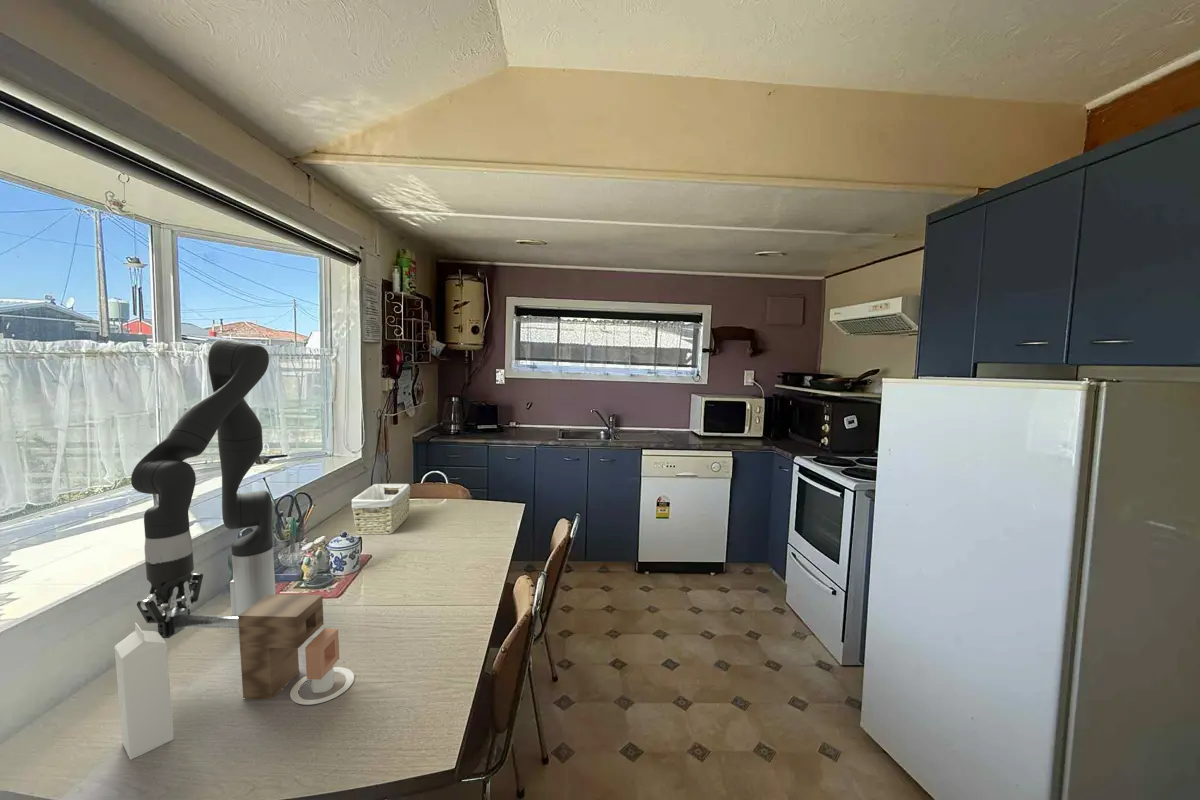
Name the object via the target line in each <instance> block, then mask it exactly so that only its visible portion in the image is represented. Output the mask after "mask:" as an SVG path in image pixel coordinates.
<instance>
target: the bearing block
mask: <svg viewBox="0 0 1200 800" xmlns="http://www.w3.org/2000/svg"><path fill="white" fill-rule="evenodd" d="M323 603H324V602H323V595H322V594H281V593H279V594H276V593H275V594H268V595H267V596H265V597H264V598H262V599H261V600H260V601H258V602H257V603H255V604H254V605H253V606H251V607H250V608H248V609H247V610H246V611H244V612H243V613H241V614H240V615H239V616H238V622H239V629H238V635H239V636H238V638H239V652H240V653H239V654H240V666H241V667H240V668H241V670H240V671H241V684H242V685H241V686H242V699H243V698H245V699H244V700H265V699H266V701H268V700H271V701H273V699H275V697H276V696H277V695H279V693H280V692H281V691H282V690H283V689H284V688H285V687H286V686H287V685H288V684H289V683H290V682H291V681H292V680H291V679H294V678H295V676H297V675H298V674H299V673H300V663H299V662H300V657H299V648H300V647H301V646H302V645H303V644H304V643H306V642H307V641H308V640H309V639H310V638H311V636H313V635H314V634H315V633H317V631H318V630H319V629H320V628H321V627H322V626H324V625H325V624H324V622H325V621H324V604H323ZM290 680H291V681H290ZM289 681H290V682H289ZM288 682H289V683H288ZM287 683H288V684H287ZM286 684H287V685H286ZM285 685H286V686H285ZM282 688H283V689H282ZM281 689H282V690H281Z"/></svg>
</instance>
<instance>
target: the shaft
mask: <svg viewBox="0 0 1200 800" xmlns="http://www.w3.org/2000/svg"><path fill="white" fill-rule="evenodd" d="M162 615H165V612H163V614H162ZM171 620H172V627H173V636H174V635H177V634H179V632H182V631H183V630H184V629H190V628H191V629H227V630H229V629H232V630H233V629H235V630H237V629H238V630H239V622H238V616H235V615H226V614H225V615H220V614H219V615H215V614H214V615H213V614H207V615H206V614H190V615H188V608H176V607H175V608H174V609H172V615H171Z"/></svg>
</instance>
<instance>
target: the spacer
mask: <svg viewBox="0 0 1200 800" xmlns="http://www.w3.org/2000/svg"><path fill="white" fill-rule="evenodd" d="M304 650H305V670H306V672H305V673H306V676H307V679H310V680H311V679H322V678H323V677H324V676H325V675H326V673H327V672H328V671H329V670H330V669H331V668H332V667H334V666H335V664H336V663H337V662H338V661H339V660H340V642H339V628H331V627H330V628H327V627H326V628H323V629H322V630H320V632H318V634H317V635H316V636H315V637H314V638H313V639H312V640H311V641H310V642H309V643H308V644H307V645H305V647H304Z"/></svg>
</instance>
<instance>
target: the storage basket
mask: <svg viewBox="0 0 1200 800" xmlns="http://www.w3.org/2000/svg"><path fill="white" fill-rule="evenodd" d="M386 491H398V492H397V493H396V494H385V492H386ZM410 497H411V485H410V484H409V483H374V484H372V485H371V486H369V487H367V488H366V489H365V490H363V491H362V492H360V493H359V494H357V496H354V497H353V498H352V499H351V510H352V513H353V520H354V521H353V522H354V525H355V533H356V535H390V534H393V533H394V532H396V530H397V529H398V528H400V526H401V525H402V524H403V523H404V522H405V521H406V519H407V518H409V517H410V516H411V514H410Z"/></svg>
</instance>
